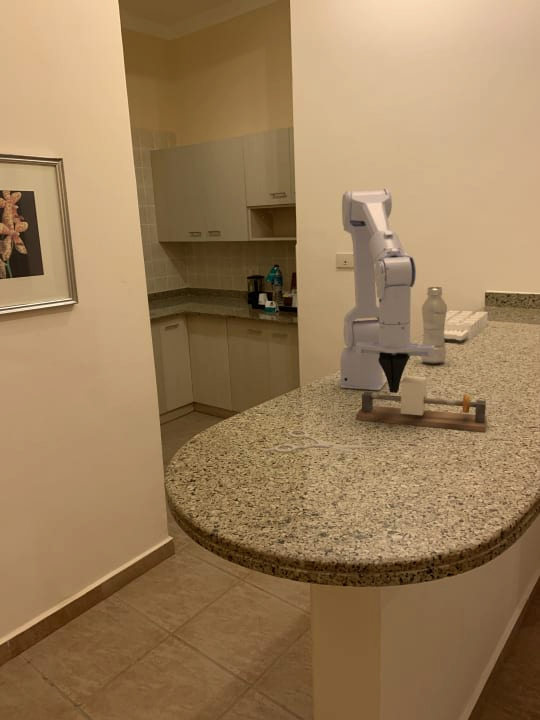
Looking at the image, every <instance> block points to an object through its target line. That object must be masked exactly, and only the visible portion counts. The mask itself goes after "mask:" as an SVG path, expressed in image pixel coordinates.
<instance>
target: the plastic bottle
mask: <svg viewBox="0 0 540 720" xmlns="http://www.w3.org/2000/svg"><path fill="white" fill-rule="evenodd" d="M426 293H427V294H426V295H427V296H428V297H427V298H426V299H425V301H424V302H423V304H422V306H421V315H422V322H423V323H422V325H423V336H422V337H423V338H422V344H423V345H435V355H434V357H433V358H428V357H426V356H420V359H421V360H422V362H424V363H425V364H432V365H433V364H441V363H444V361H445V360H446V356H447V350H446V344H445V338H444V327H445V319H446V313H447V312H448V306H447V303H446V302H445V300H444V298H442V296H443V288H442V287H440V286H430V287H427V292H426Z"/></svg>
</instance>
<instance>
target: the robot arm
mask: <svg viewBox="0 0 540 720" xmlns="http://www.w3.org/2000/svg"><path fill="white" fill-rule="evenodd" d="M391 194H392V193H391V192H390V191H389V189H387V188H384V189H373V190H372V189H371V190H353V191H350V190H346V191H345V192H344V193H343V194H342V199H341V214H342V215H341V217H342V226H343V230H344V232H346V233H349V234H350V237H351V241H352V253H353V276H354V293H355V294H354V297H355V298H354V299H355V306H354V307H353V308H351V310H349V311H348V312H347V313H346V314H345V316H344V318H343V320H344V321H343V322H344V323H343V339H344V344H345V346H346V347H344V348H343V349H342V351H341V354H340V386H339V387H340V388H341V389H342V388H343V389H355V390H370V391H381V390H382V389H383V387H384V386H385V384H386V383H387V385H388V390H389V393H394V394H397V393H398V392H399V391H400V386H401V381H402V376H403V373H404V371H405V368H406V367H407V364H408V361H409V360H410V357H421V356H426V357H428V358H433V357H434V355H435V345H423V343H413V342H411V299H412V298H411V293H412V292H411V289H412V288H413V287H414V285H415V282H416V279H417V277H416V276H417V273H416V272H417V270H416V269H417V268H416V262H415V259H414V257H413V255H410V254H409V253H405V251H404V248H403V246H402V243H401V241H400V239H399V235H398V234H397V233H396V232H395V231H394V230H391V229H390V225H389V221H388V220H389V217H390V215H391V212H392V207H393V205H392V204H393V202H392V201H393V198H392V195H391ZM377 298H378V306H377ZM372 318H373V319H372ZM358 319H359V320H358ZM360 319H361V320H360ZM363 319H366V320H363ZM383 372H384V375H385V378H386V379H385V378H383Z"/></svg>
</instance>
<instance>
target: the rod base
mask: <svg viewBox="0 0 540 720" xmlns="http://www.w3.org/2000/svg"><path fill="white" fill-rule="evenodd" d="M462 397H463V398H462V400H456V399H455V400H454V399H453V400H452V399H441V398H429V397H426V398H424V403H426V405H427V404H430V405H441V406H454V407H455V406H457V407H462V413H459V412H451V411H450V412H447V411H436V410H426V409H425V411H424V413H423V415H412V414H401V407H391V406H390V407H389V406H379V405H374V403H373V402H374V401H373V400H377V401H378V400H381V401H392V402H401V395H393V394H392V395H390V394H377V393H374V392H373V391H364V392H363V393H362V394H361V408H360V409H359V410H358V411H357V413H356V414H355V420H359V421H365V422H366V421H367V422H376V423H379V422H380V423H387V424H388V423H390V424H396V425H397V424H399V425H407V426H409V425H410V426H418V427H419V426H420V427H429V428H438V429H439V428H440V429H447V430H448V429H450V430H458V431H459V430H460V431H461V430H462V431H470V432H480V433H485V432H486V428H487V427H486V426H487V417H488V416H487V415H486V406H487V401H486V400H480V399H479V400H477V399H476V401H471V397H470V395H469V394H468V395H467V394H466V395H465V394H464V395H463V396H462ZM470 408H475V413H474V414H473V413H470Z"/></svg>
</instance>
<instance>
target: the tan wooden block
mask: <svg viewBox="0 0 540 720" xmlns="http://www.w3.org/2000/svg"><path fill="white" fill-rule="evenodd" d="M400 396H401V401H400V408H401V414H412V415H423V413H424V411H425V410H426V408H427V403H424V398H427V377H426V376H411V375H410V376H409V375H404V377H403V378H402V379H401V381H400Z"/></svg>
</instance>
